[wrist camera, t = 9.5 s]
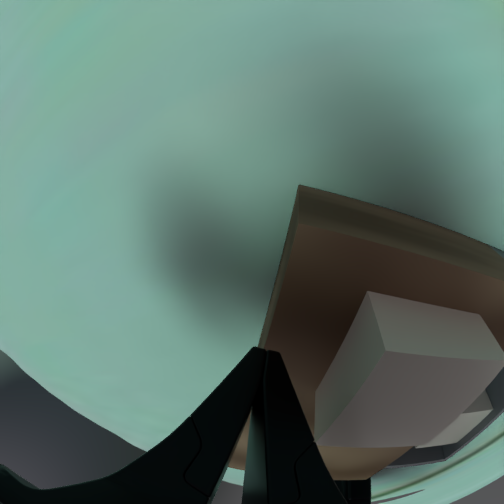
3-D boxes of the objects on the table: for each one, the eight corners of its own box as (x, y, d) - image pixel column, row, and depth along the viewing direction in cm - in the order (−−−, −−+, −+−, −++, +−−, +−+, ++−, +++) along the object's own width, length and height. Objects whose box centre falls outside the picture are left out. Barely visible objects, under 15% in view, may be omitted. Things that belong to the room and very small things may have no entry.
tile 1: (416, 400, 10) (426, 444, 7) (315, 391, 10) (313, 444, 8) (479, 314, 7) (508, 360, 5) (367, 290, 8) (385, 350, 5)
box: (438, 429, 18) (445, 460, 15) (363, 430, 19) (365, 469, 15) (552, 274, 10) (581, 304, 7) (487, 244, 11) (528, 281, 7)
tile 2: (415, 448, 15) (410, 424, 17) (456, 442, 14) (451, 421, 17) (453, 414, 12) (444, 388, 15) (493, 409, 12) (484, 387, 14)
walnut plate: (363, 430, 19) (366, 479, 14) (237, 413, 20) (224, 466, 15) (487, 244, 11) (539, 293, 6) (298, 184, 12) (298, 222, 7)
